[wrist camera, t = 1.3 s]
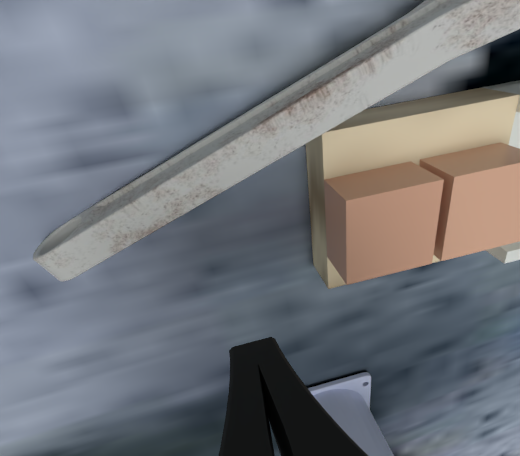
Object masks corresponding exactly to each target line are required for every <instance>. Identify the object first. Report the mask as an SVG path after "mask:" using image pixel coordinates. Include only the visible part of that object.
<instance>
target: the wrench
mask: <svg viewBox="0 0 520 456" xmlns="http://www.w3.org/2000/svg"><path fill="white" fill-rule="evenodd" d="M518 29H520V0H425V1H424V2H423V3H421V4H420V5H418V6H417V7H416V8H414V9H413V10H412V11H410V12H409V13H408V14H406V15H405V16H403V17H401V18H400V19H398V20H396V21H395V22H393V23H392V24H390V25H388V26H387V27H385V28H384V29H382V30H380V31H379V32H377V33H375V34H374V35H372V36H371V37H369V38H367V39H366V40H364V41H362V42H361V43H359V44H358V45H356V46H354V47H353V48H351V49H350V50H348V51H346V52H345V53H343V54H341V55H340V56H338V57H337V58H335V59H333V60H332V61H330V62H328V63H327V64H325V65H323V66H322V67H320V68H318V69H317V70H315V71H314V72H312V73H310V74H309V75H307V76H305V77H304V78H302V79H300V80H299V81H297V82H295V83H294V84H292V85H290V86H289V87H287V88H286V89H284V90H282V91H281V92H279V93H277V94H276V95H274V96H272V97H271V98H269V99H267V100H266V101H264V102H263V103H261V104H259V105H258V106H256V107H254V108H253V109H251V110H249V111H248V112H246V113H244V114H243V115H241V116H239V117H238V118H236V119H235V120H233V121H231V122H230V123H228V124H226V125H225V126H223V127H221V128H220V129H218V130H217V131H215V132H213V133H212V134H210V135H208V136H207V137H205V138H203V139H202V140H200V141H199V142H197V143H195V144H194V145H192V146H190V147H189V148H187V149H185V150H184V151H182V152H181V153H179V154H177V155H176V156H174V157H172V158H171V159H169V160H167V161H166V162H164V163H163V164H161V165H159V166H158V167H156V168H154V169H153V170H151V171H149V172H148V173H146V174H144V175H143V176H141V177H139V178H138V179H136V180H135V181H133V182H131V183H130V184H128V185H126V186H125V187H123V188H121V189H120V190H118V191H116V192H115V193H113V194H111V195H110V196H108V197H106V198H105V199H103V200H101V201H100V202H98V203H96V204H95V205H93V206H92V207H90V208H88V209H87V210H85V211H83V212H82V213H80V214H79V215H77V216H76V217H74V218H73V219H71V220H70V221H68V222H67V223H65V224H64V225H62V226H61V227H59V228H58V229H56V230H55V231H53V232H52V233H51V234H50V235H49V236H48V237H47V238H46V239H45V240H44V241H43V242H42V243H41V244H40V245H39V246H38V247H37V249H36V250H35V252H34V254H33V260H35V261H36V262H37V263H38V264H40V265H41V266H42V267H43V268H44V269H46V270H47V271H48V272H49V273H51V274H52V275H53V276H54V277H55V278H57V279H58V280H59V281H67V280H71V279H73V278H75V277H77V276H78V275H80V274H82V273H83V272H85V271H87V270H89V269H90V268H92V267H94V266H96V265H97V264H99V263H101V262H102V261H104V260H106V259H108V258H109V257H111V256H113V255H115V254H116V253H118V252H120V251H121V250H123V249H125V248H127V247H128V246H130V245H132V244H134V243H135V242H137V241H139V240H140V239H142V238H144V237H146V236H147V235H149V234H151V233H153V232H154V231H156V230H158V229H159V228H161V227H163V226H165V225H166V224H168V223H170V222H172V221H173V220H175V219H177V218H178V217H180V216H182V215H184V214H185V213H187V212H189V211H191V210H192V209H194V208H196V207H197V206H199V205H201V204H203V203H204V202H206V201H208V200H210V199H211V198H213V197H215V196H216V195H218V194H220V193H222V192H223V191H225V190H227V189H229V188H230V187H232V186H234V185H235V184H237V183H239V182H241V181H242V180H244V179H246V178H248V177H249V176H251V175H253V174H254V173H256V172H258V171H260V170H261V169H263V168H265V167H267V166H268V165H270V164H272V163H273V162H275V161H277V160H279V159H280V158H282V157H284V156H286V155H287V154H289V153H291V152H292V151H294V150H296V149H298V148H299V147H301V146H303V145H305V144H306V143H308V142H310V141H311V140H313V139H315V138H317V137H318V136H320V135H322V134H324V133H325V132H327V131H329V130H330V129H332V128H334V127H336V126H337V125H339V124H341V123H343V122H344V121H346V120H348V119H349V118H351V117H353V116H355V115H356V114H358V113H360V112H362V111H363V110H365V109H367V108H368V107H370V106H372V105H374V104H375V103H377V102H379V101H381V100H382V99H384V98H386V97H387V96H389V95H391V94H393V93H394V92H396V91H398V90H400V89H401V88H403V87H405V86H406V85H408V84H410V83H412V82H413V81H415V80H417V79H419V78H420V77H422V76H424V75H425V74H427V73H429V72H431V71H432V70H434V69H436V68H438V67H439V66H441V65H443V64H444V63H446V62H448V61H450V60H452V59H454V58H456V57H458V56H460V55H463V54H465V53H467V52H469V51H472V50H474V49H476V48H478V47H481V46H483V45H485V44H487V43H489V42H492V41H494V40H496V39H498V38H501V37H503V36H505V35H507V34H510V33H512V32H514V31H516V30H518Z"/></svg>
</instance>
